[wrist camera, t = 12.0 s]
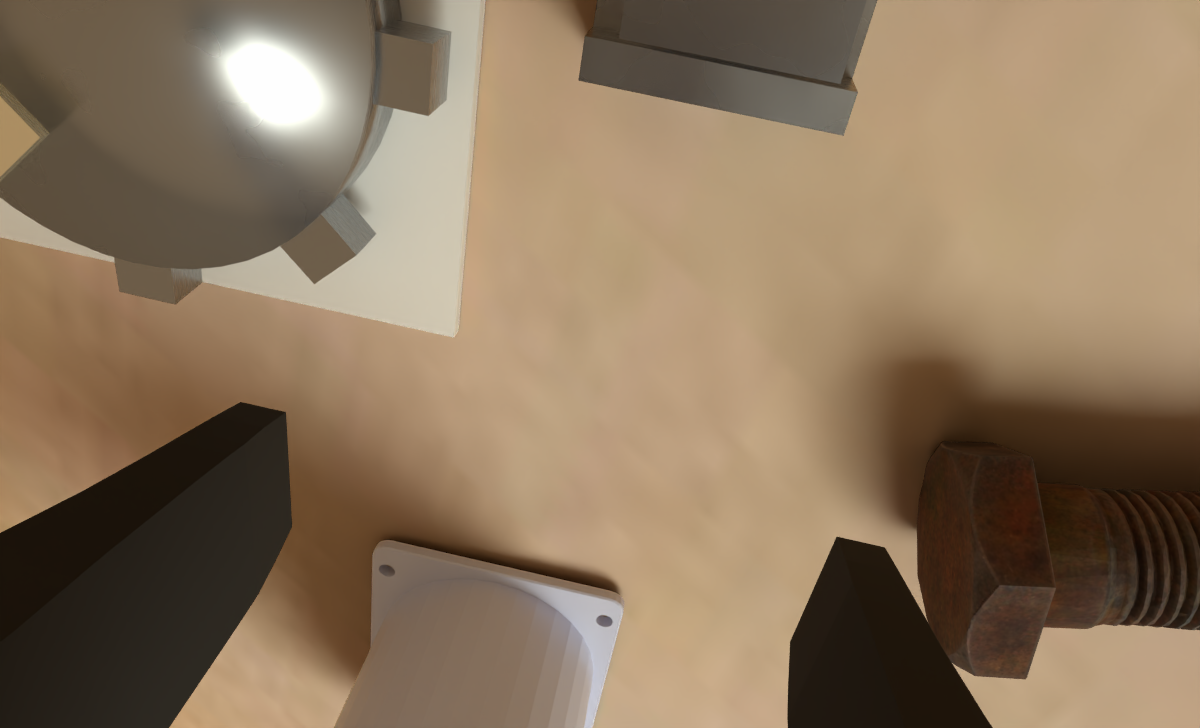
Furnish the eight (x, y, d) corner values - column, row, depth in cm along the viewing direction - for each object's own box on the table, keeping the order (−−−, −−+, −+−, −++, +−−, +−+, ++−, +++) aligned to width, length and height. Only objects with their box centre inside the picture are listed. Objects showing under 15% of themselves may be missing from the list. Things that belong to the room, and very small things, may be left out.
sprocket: (580, 91, 18) (516, 189, 13) (192, 359, 23) (43, 500, 18) (78, -655, 13) (-335, -955, 8) (-264, -95, 18) (-634, -68, 13)
